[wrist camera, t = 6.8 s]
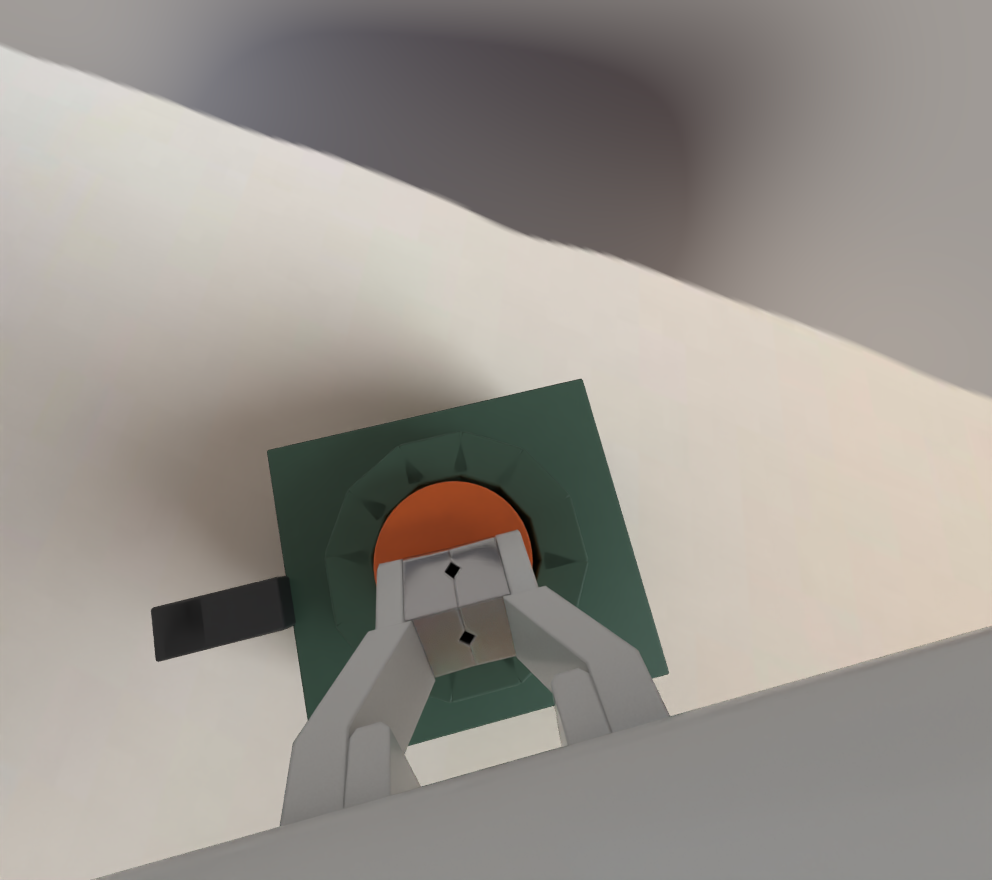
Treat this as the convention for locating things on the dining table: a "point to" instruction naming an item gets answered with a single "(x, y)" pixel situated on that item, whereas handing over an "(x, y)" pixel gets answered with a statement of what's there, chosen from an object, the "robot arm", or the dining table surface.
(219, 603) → the jug handle
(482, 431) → the button housing
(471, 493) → the button
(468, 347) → the dining table surface
